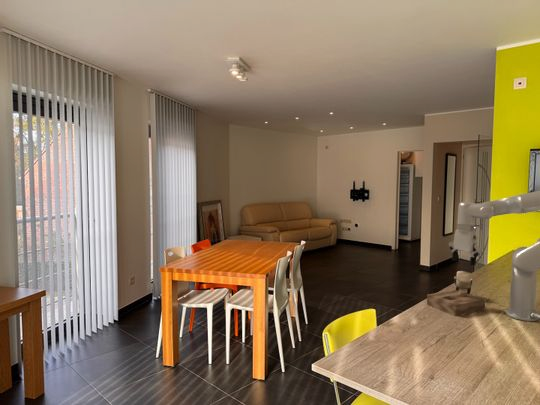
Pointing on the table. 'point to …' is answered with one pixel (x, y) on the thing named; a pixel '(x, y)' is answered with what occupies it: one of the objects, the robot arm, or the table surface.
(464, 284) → the peg
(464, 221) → the robot arm
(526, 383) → the table surface
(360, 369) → the table surface
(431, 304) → the board
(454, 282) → the coffee mug
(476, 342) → the table surface
